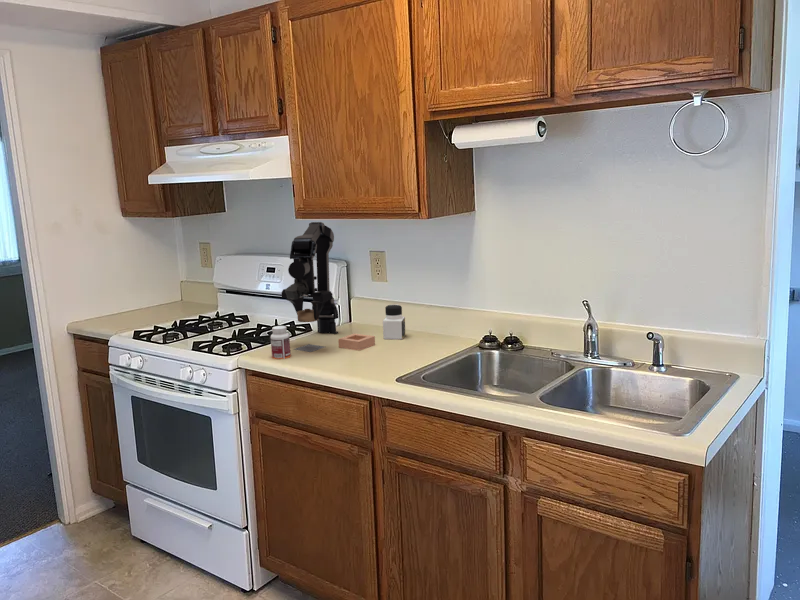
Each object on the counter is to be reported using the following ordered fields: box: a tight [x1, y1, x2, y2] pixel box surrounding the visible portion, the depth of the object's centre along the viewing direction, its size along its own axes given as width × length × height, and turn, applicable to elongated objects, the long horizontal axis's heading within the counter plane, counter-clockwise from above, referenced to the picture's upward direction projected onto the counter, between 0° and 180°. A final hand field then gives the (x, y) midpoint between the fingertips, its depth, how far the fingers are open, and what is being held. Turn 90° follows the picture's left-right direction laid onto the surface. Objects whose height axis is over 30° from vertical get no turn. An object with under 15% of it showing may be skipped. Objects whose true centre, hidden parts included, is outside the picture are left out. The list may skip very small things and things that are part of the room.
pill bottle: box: [270, 325, 292, 360], centre depth 233 cm, size 6×6×11 cm
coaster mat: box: [293, 343, 325, 353], centre depth 244 cm, size 8×8×1 cm
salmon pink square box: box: [337, 332, 376, 352], centre depth 244 cm, size 9×9×4 cm
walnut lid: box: [296, 308, 317, 323], centre depth 242 cm, size 7×7×4 cm
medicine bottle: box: [382, 304, 406, 340], centre depth 259 cm, size 7×7×12 cm
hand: (308, 319), depth 242 cm, fingers closed on walnut lid, 7 cm apart
